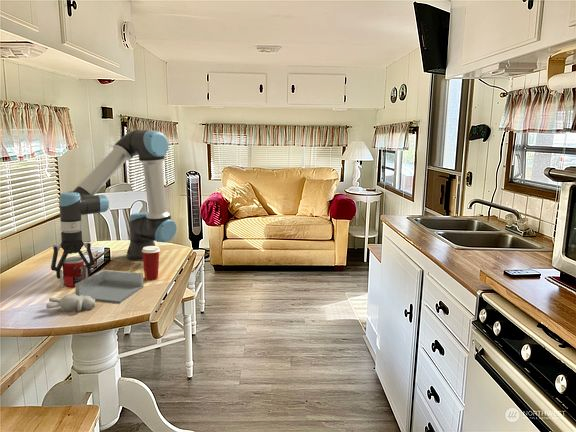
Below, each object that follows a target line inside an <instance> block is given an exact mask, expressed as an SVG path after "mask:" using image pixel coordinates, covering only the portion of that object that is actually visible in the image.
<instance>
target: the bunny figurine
mask: <svg viewBox="0 0 576 432" xmlns="http://www.w3.org/2000/svg"><path fill="white" fill-rule="evenodd" d="M48 301H49V302H50V303H47V304H46V306H45V308H46V309H54V308H59V307H60V308H61V310H62V311H64V312H75V311H78V312H79V311H80V312H81V311H82V310H83V311H89V310H91V309H92V308H95V303H96V301H95V299H93V298H92V297H90V296H84V297H83V296H82V295H80V296H78V295H76V293H75V294H74V293H68V294H65V295H64V296H62V297H61V298H58V297H50V298H49V299H48Z"/></svg>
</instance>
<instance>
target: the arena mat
mask: <svg viewBox="0 0 576 432" xmlns="http://www.w3.org/2000/svg"><path fill="white" fill-rule="evenodd" d="M141 289H143V288H142V287H141V286H131V285H121V284H112V283H103V284H102V285H100V286H98V287H96V288H95V289H93V290H91V291H89V292H87V293H86V294H84V295H82V296H83V297H84V296H90V297H92V298H93V299H95V302H105V303H114V304H121V303H123V302H124V301H125V300H127V299H129V297H131V296H133V295H134V294H135V293H137V292H138V291H140V290H141Z"/></svg>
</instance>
